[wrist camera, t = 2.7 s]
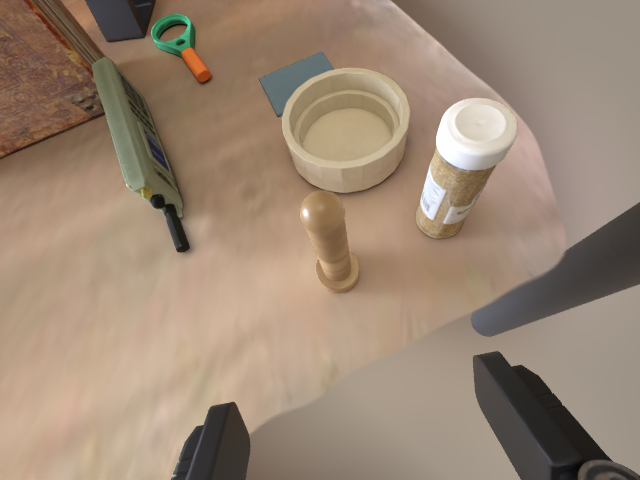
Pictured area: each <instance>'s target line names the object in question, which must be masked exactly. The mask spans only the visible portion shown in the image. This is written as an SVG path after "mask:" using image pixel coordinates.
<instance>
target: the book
mask: <svg viewBox="0 0 640 480" xmlns="http://www.w3.org/2000/svg"><path fill="white" fill-rule="evenodd" d="M103 57H106V56H105V55H104V54H103V53H102V51H101V50H100V49H99V48H98V46H97V45H96V44H95V43H94V41H93V40H92V39H91V38H90V36H89V35H88V34H87V33H86V31H85V30H84V29H83V28H82V27H81V25H80V24H79V23H78V22H77V20H76V19H75V18H74V17H73V15H72V14H71V13H70V12H69V10H68V9H67V8H66V7H65V5H64V4H63V3H62V2H61V1H60V0H0V158H2V157H5V156H7V155H9V154H12V153H14V152H17V151H19V150H21V149H24V148H26V147H28V146H31V145H33V144H36V143H38V142H40V141H43V140H45V139H47V138H50V137H52V136H55V135H57V134H59V133H62V132H64V131H66V130H69V129H71V128H74V127H76V126H78V125H81V124H83V123H85V122H88V121H90V120H93V119H95V118H97V117H100V116H102V115H104V114H105V111H104V108H103V105H102V101H101V100H100V97H99V94H98V90H97V87H96V83H95V80H94V76H93V71H92V65H93V63H94V62H96V61H98V60H100V59H101V58H103Z"/></svg>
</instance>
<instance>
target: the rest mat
mask: <svg viewBox="0 0 640 480" xmlns="http://www.w3.org/2000/svg"><path fill="white" fill-rule="evenodd" d="M329 70H334V68H333V67H332V65H331V64H330V62H329V61H328V59H327V58H326V56H325V55H324V53H323V52H320V53H317V54H315V55H313V56H310V57H308V58H305V59H303V60H301V61H298V62H296V63H294V64H291V65H289V66H287V67H284V68H282V69H280V70H277V71H275V72H273V73H270V74H268V75H265V76H263V77H261V78H259V80H260V82H261V84H262V86H263V88H264V90H265V92H266V94H267V96H268V98H269V100H270V102H271V104H272V106H273V108H274V110H275V112H276V114H277V116H278V117H280V116H282V115H283V112H284V109H285V106H286V103H287V101H288V100H289V98H290V97H291V96H292V94H293V93H294V92H295V90H296V89H297V88H298V87H300V86H301V85H302V84H304V83H305V82H306V81H308V80H309V79H310V78H313V77H315V76H317V75H320V74H322V73H324V72H327V71H329Z"/></svg>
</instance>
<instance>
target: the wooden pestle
mask: <svg viewBox="0 0 640 480" xmlns="http://www.w3.org/2000/svg"><path fill="white" fill-rule="evenodd" d="M344 218H345V208H344V205H343V203H342V201H341V199H340V198H339V197H338V196H337V195H336V194H334V193H332V192H330V191H326V190H319V191H315V192H313V193H311V194H309V195H308V196H307V197H306V198H305V199H304V200H303V202H302V204H301V207H300V219H301V222H302V224H303V226H304V227H305V228H306V230H307V232H308V235H309V237H310V240H311V242H312V245H313V247H314V250H315V252H316V255H317V257H318V261H317V263H316V275H317V277H318V279H319V281H320V283H321V285H322V286H323V287H324V288H325V289H327V290H328V291H330V292H334V293H343V292H346V291H348V290H350V289H351V288H353V287H354V286H355V284H356V283H357V281H358V278H359V263H358V260H357V258H356V257H355V255H354V254H353V253H352V252H350V251H349V247H348V240H347V233H346V226H345V219H344Z"/></svg>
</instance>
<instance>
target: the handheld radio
mask: <svg viewBox="0 0 640 480" xmlns="http://www.w3.org/2000/svg"><path fill="white" fill-rule="evenodd" d="M92 71H93V76H94V80H95V83H96V87H97V90H98V94H99V97H100V100H101V101H102V105H103V108H104V111H105V115H106V118H107V122H108V125H109V128H110V132H111V135H112V139H113V142H114V145H115V149H116V152H117V156H118V159H119V162H120V166H121V169H122V173H123V176H124V179H125V183H126V185H127V187H128V188H130V189H131V190H132V191H134V192H135V193H136V194H138V195H139V196H141V197H142V198H143V199H145V200H146V201H147V202H149V203H150V204H151V205H152V206H153V207H154V208H156V209H158V210H159V211H161V212H162V213H164V215H165V216H166V218H167V223H168V226H169V229H170V232H171V235H172V238H173V241H174V244H175V247H176V250H177V252H185V251H187V250H189V248H190V246H189V244H188V241H187V238H186V235H185V232H184V230H183V227H182V224H181V221H180V218H182V217H184V216H183V212H182V208H183V202H182V199H181V197H180V194H179V191H178V188H177V186H176V183H175V180H174V176H173V174H172V171H171V169H170V166H169V163H168V161H167V158H166V155H165V153H164V150H163V147H162V144H161V142H160V139H159V137H158V134H157V132H156V129H155V126H154V124H153V121H152V119H151V116H150V113H149V111H148V108H147V106H146V103H145V100H144V98H143V97H142V95H141V94H140V93H139V92H138V91H137V90H136V88H135V87H134V86H133V85H132V84H131V83H130V81H129V80H128V79H127V78H126V77H125V76H124V74H123V73H122V72H121V71H120V70H119V69H118V67H117V66H116V65H115V64H114V63H113V61H112V60H111V59H109V58H107V57H103V58H101V59H100V60H98V61H96V62H94V63H93V65H92Z"/></svg>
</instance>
